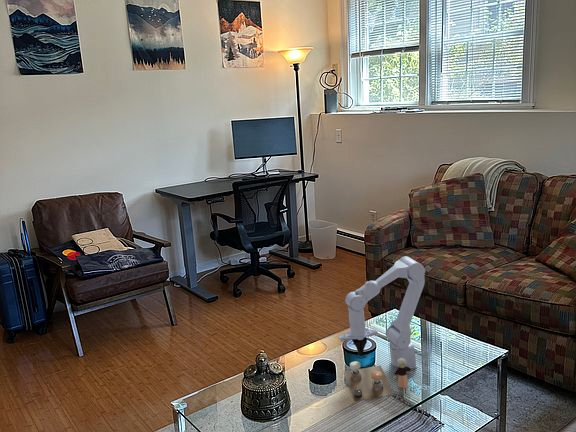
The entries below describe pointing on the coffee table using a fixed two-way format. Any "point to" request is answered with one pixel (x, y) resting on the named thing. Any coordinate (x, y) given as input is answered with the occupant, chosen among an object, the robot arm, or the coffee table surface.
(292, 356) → the coffee table surface
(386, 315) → the coffee table surface
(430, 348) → the coffee table surface
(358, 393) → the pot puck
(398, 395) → the coffee table surface
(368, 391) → the beige rectangular board
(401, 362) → the grandmother figurine
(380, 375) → the knob near
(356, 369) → the knob far
